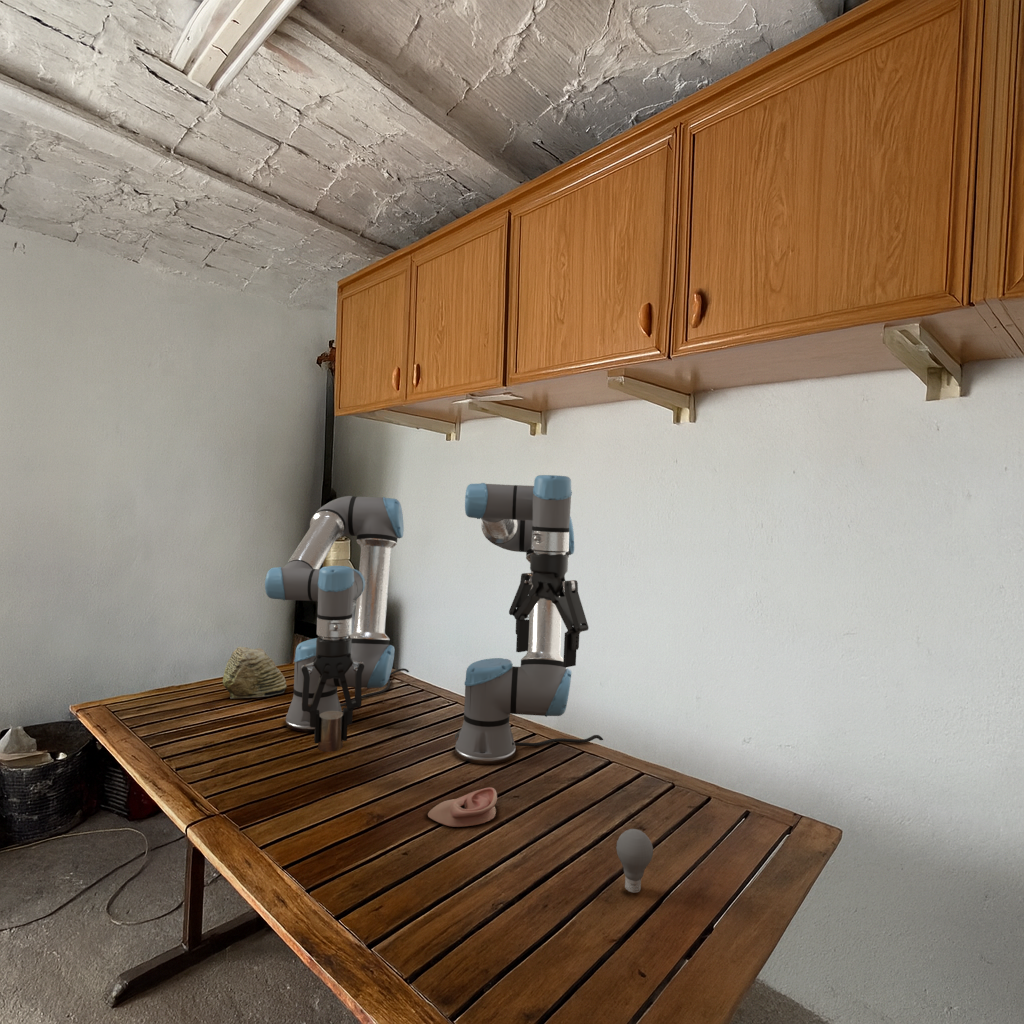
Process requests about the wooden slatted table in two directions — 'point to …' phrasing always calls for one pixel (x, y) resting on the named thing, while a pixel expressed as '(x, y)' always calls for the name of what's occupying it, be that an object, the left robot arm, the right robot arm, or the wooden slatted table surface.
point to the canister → (331, 731)
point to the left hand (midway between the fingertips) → (330, 739)
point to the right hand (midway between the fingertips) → (544, 658)
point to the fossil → (252, 674)
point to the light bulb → (634, 857)
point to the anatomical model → (466, 809)
